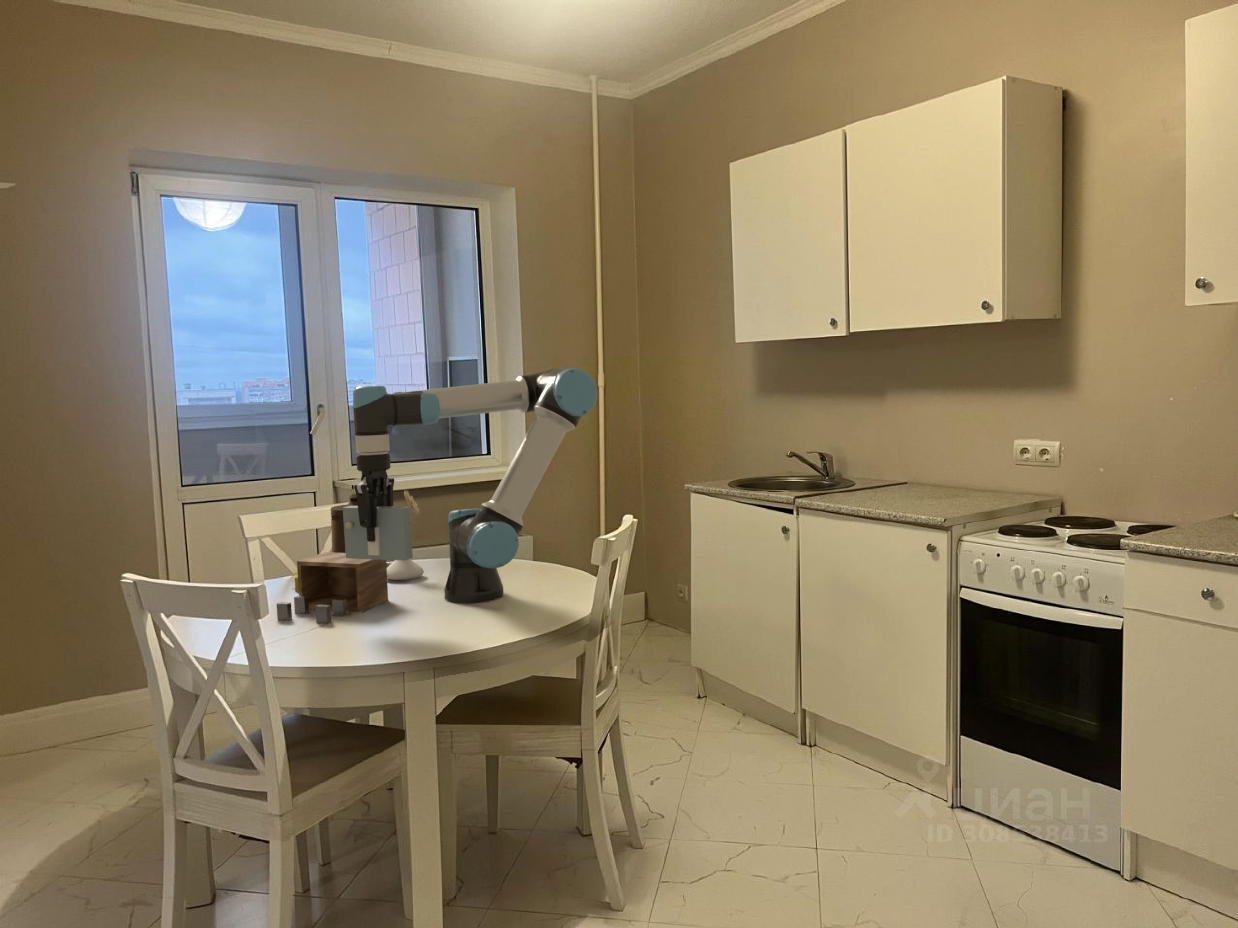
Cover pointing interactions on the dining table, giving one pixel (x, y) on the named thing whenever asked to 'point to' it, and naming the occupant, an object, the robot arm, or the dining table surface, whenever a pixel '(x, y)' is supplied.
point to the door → (391, 534)
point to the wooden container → (340, 525)
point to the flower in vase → (408, 567)
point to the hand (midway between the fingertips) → (378, 553)
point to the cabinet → (343, 581)
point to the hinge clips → (303, 607)
